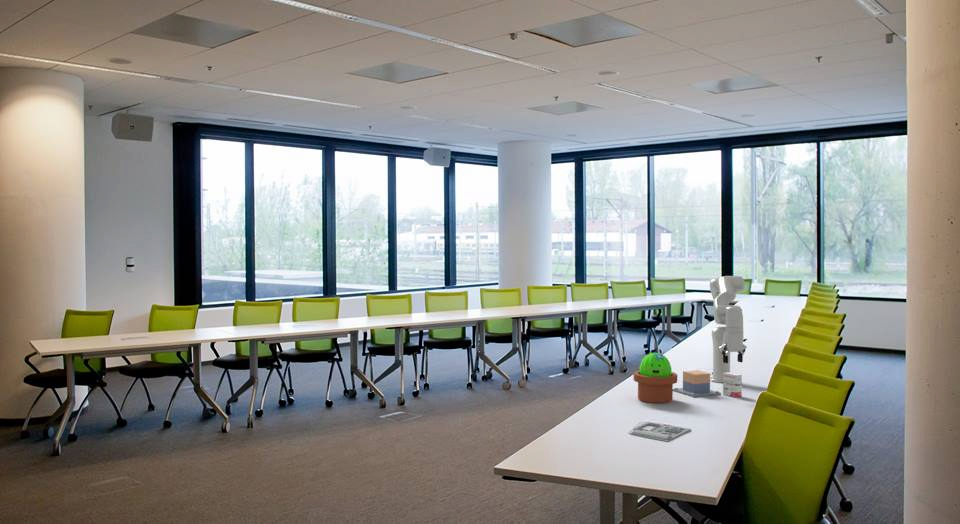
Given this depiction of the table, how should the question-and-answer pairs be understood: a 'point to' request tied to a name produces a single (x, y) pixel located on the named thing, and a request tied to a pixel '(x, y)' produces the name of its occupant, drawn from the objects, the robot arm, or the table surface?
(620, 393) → the table surface
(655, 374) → the potted cactus
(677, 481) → the table surface
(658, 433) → the grey flat panel
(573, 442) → the table surface
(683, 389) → the studded square plate
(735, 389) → the ink box
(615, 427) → the table surface
